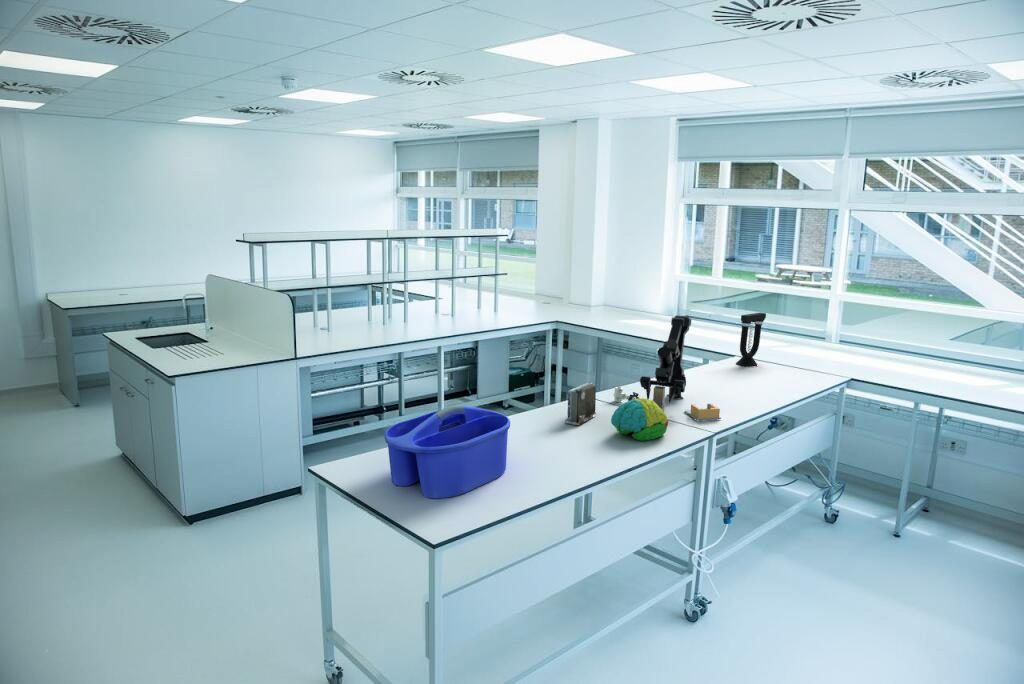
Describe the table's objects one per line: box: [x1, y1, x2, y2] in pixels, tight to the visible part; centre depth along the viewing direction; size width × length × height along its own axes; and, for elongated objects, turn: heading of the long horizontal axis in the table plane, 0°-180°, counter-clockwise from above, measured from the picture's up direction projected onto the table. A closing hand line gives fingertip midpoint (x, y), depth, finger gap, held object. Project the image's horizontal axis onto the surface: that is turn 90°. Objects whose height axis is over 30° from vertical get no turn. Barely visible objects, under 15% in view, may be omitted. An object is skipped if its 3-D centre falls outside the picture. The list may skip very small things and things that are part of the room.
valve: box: [613, 386, 641, 403], centre depth 297 cm, size 7×7×12 cm
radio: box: [564, 381, 597, 426], centre depth 274 cm, size 23×9×15 cm, turn 145°
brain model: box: [610, 397, 669, 442], centre depth 252 cm, size 24×19×15 cm
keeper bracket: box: [684, 403, 722, 421], centre depth 278 cm, size 12×11×7 cm
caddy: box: [384, 404, 511, 499], centre depth 212 cm, size 32×45×23 cm
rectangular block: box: [652, 385, 666, 412], centre depth 277 cm, size 4×4×13 cm
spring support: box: [735, 312, 767, 367], centre depth 376 cm, size 21×12×30 cm, turn 130°
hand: (658, 400), depth 276 cm, fingers open, 9 cm apart
